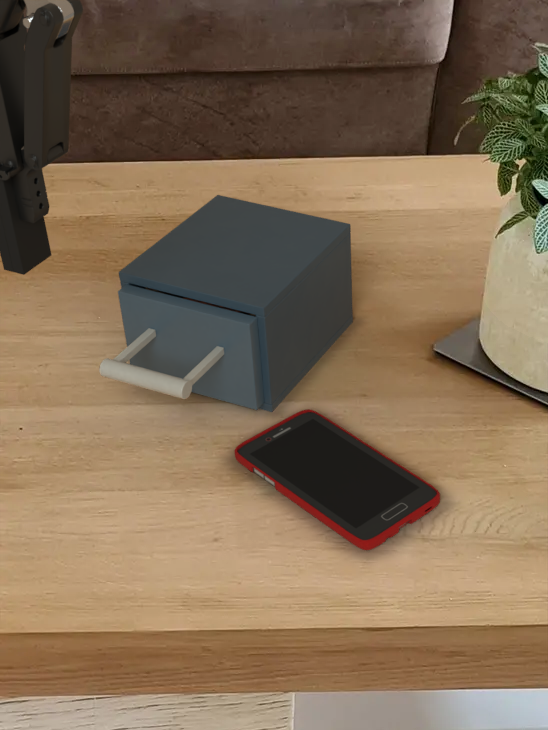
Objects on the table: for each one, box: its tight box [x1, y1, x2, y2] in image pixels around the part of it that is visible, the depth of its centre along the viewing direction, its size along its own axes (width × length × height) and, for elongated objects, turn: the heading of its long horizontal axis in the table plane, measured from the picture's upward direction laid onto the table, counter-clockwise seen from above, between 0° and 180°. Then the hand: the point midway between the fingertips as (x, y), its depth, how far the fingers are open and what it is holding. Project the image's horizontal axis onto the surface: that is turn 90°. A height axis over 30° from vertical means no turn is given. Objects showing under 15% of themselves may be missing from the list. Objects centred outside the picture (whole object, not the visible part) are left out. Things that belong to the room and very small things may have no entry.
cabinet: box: [118, 194, 354, 413], centre depth 95 cm, size 15×13×10 cm
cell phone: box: [233, 409, 441, 551], centre depth 84 cm, size 8×15×1 cm, turn 46°
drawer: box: [98, 284, 264, 411], centre depth 92 cm, size 20×11×8 cm, turn 158°
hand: (28, 262), depth 72 cm, fingers closed
